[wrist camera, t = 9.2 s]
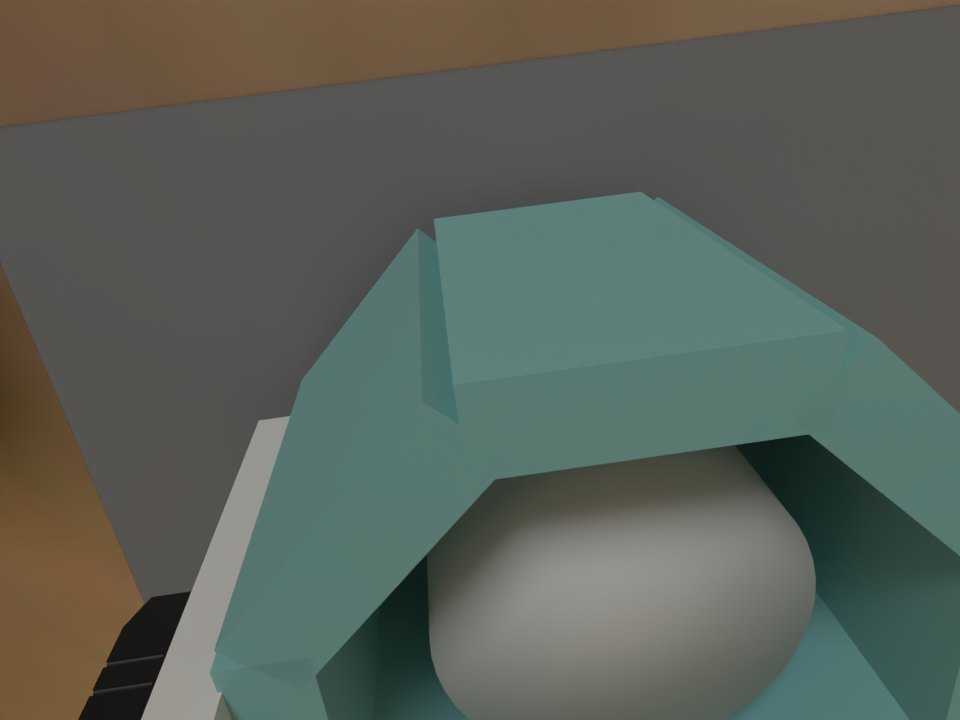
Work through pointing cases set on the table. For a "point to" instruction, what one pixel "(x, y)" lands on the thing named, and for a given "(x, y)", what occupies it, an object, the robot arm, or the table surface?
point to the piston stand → (415, 204)
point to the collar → (593, 456)
